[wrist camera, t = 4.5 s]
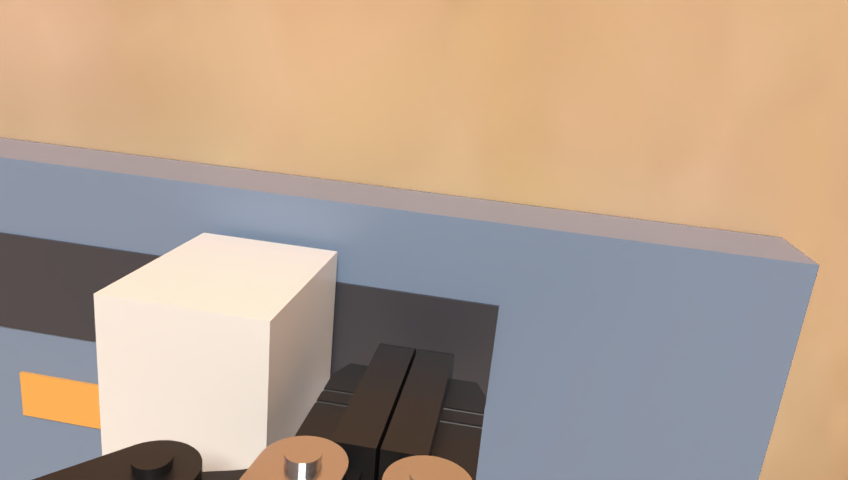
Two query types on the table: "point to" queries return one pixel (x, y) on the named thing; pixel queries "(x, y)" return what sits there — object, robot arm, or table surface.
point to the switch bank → (422, 309)
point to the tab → (215, 347)
